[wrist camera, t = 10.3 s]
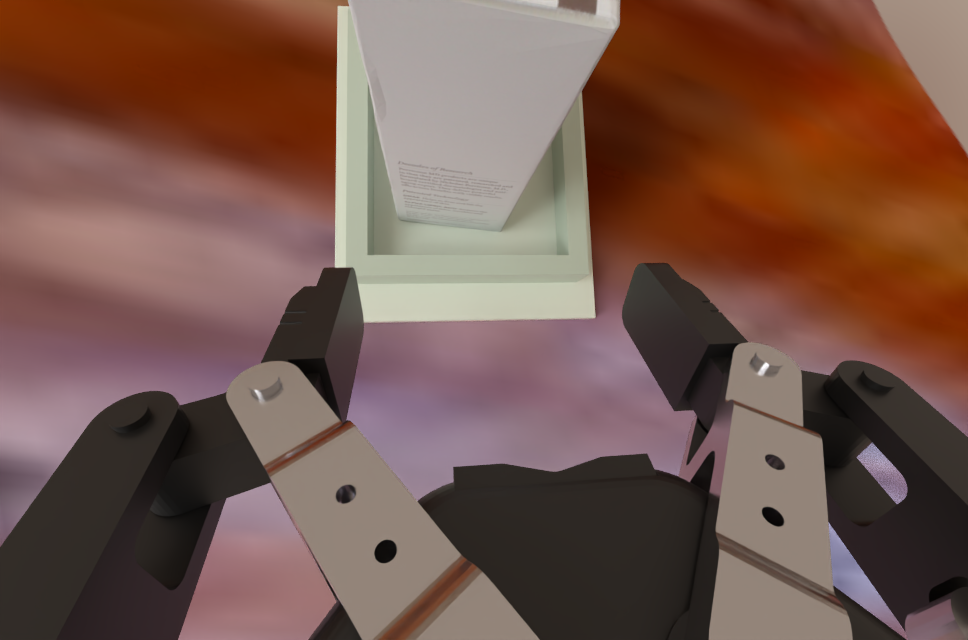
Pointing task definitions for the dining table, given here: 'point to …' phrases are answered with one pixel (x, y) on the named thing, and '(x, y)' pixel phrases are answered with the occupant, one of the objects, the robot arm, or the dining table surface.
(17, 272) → the dining table surface
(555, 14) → the skincare box
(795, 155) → the dining table surface
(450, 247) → the tray
